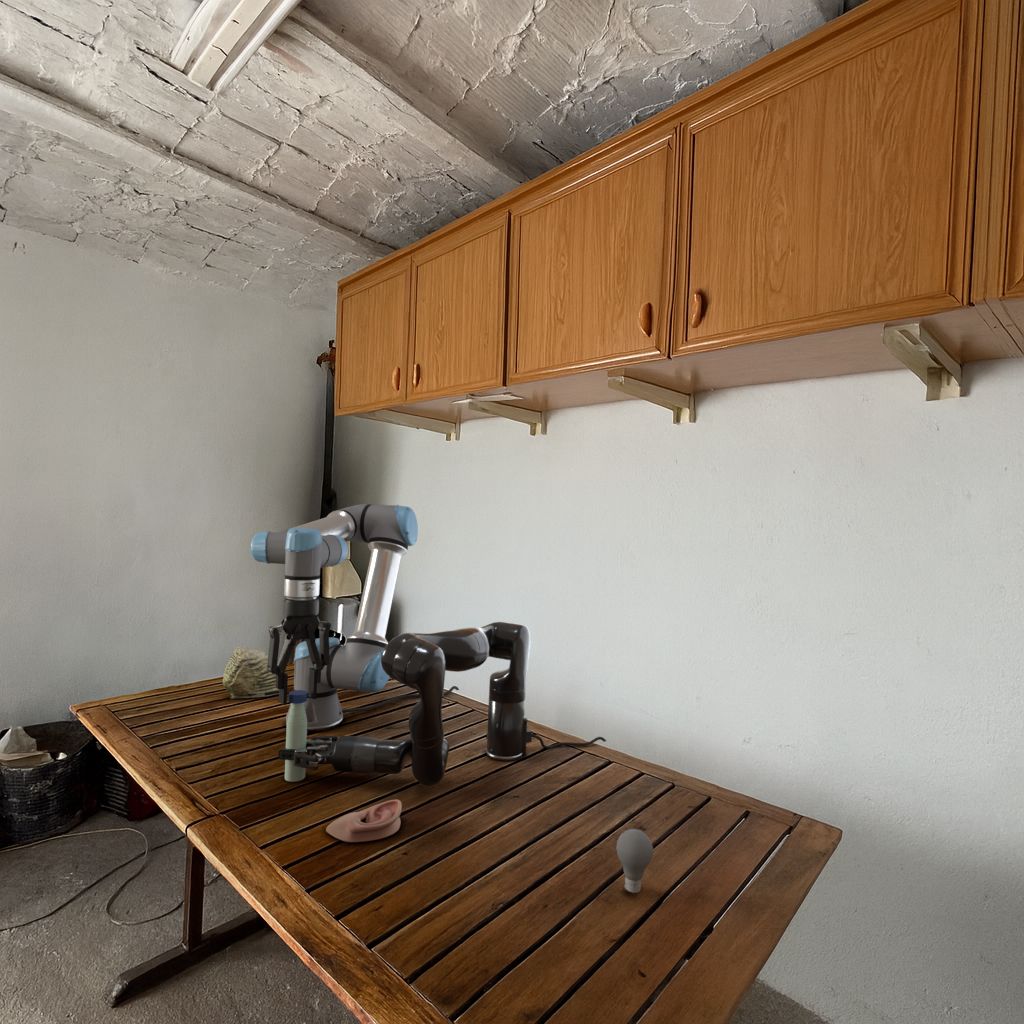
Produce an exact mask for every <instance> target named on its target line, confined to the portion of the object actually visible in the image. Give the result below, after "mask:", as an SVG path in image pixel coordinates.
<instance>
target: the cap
mask: <svg viewBox="0 0 1024 1024" xmlns="http://www.w3.org/2000/svg"><path fill="white" fill-rule="evenodd" d="M306 701H307V691H304V690H295V691H294V690H292V691H289V692H288V699H287V702H288V703H289V704H291V703H294V704H299V703H304V702H306Z"/></svg>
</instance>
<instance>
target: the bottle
mask: <svg viewBox="0 0 1024 1024" xmlns="http://www.w3.org/2000/svg"><path fill="white" fill-rule="evenodd" d="M290 704H291V708H290V712H289V715H288V718H287V726H286V728H285V729H286V732H285V735H286V736H285V749H296V750H297V749H306V740H307V739H308V738H307V736H308V732H307V717H306V713H305V712H306V711H305V707H304V703H299V704H294V703H290ZM302 754H305V753H302ZM305 778H306V768H302V767H297V766H294V760H284V780H285V781H286V782H292V783H293V782H300V781H302V780H304V779H305Z"/></svg>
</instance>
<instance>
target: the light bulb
mask: <svg viewBox="0 0 1024 1024" xmlns="http://www.w3.org/2000/svg"><path fill="white" fill-rule="evenodd" d="M615 849H616V854H617V857H618V859H619V861H620V863H621V865H622V867H623V873H624V874H623V875H624V876H625V878H624V888H625V890H627V891H628V892H630V893H634V894H635V893H639V892H640V891H641V889H642V887H641V886H642V879H643V877H644V875H645V871H646V868H647V867H648V866H649V864H650V863H651V861H652V859H653V855H654V847H653V843H652V841H651V838H649V836H648V835H647V834H646V833H645V832H643V831H642V830H641V829H636V828H629V829H627V830H625V831H623V832H622V833H621V834H620V835H619V837H618V839H617V841H616V847H615Z"/></svg>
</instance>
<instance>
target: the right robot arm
mask: <svg viewBox="0 0 1024 1024" xmlns="http://www.w3.org/2000/svg"><path fill="white" fill-rule="evenodd" d="M530 651H531V632H530V629H529V627H528V626H527V625H525V624H520V623H515V622H507V621H495V622H492V623H488V624H486V625H483V626H480V627H464V628H463V627H462V628H457V629H453V630H446V631H445V630H444V631H437V632H432V633H419V632H403V633H400V634H399V635H397V636H395V637H393V638H392V639H391V640H390V641H388V644H387V645H386V647H385V648H384V650H383V653H382V656H381V664H382V668H383V670H384V671H385V673H386V674H387V675H388V676H390V678H391V679H393V680H395V681H397V682H398V683H400V684H401V685H404V686H406V687H408V688H410V689H412V690H416V691H417V694H419V695H420V697H419V701H417V702H416V703H415V704H414V706H413V707H412V709H411V711H410V713H409V716H408V729H409V734H410V737H409V738H404V739H403V738H402V739H397V740H395V739H384V738H383V739H382V738H375V737H371V736H370V737H369V736H355V735H340V736H338V735H321V736H312V737H310V739H308V738H307V740H306V749H297V750H296V749H286V747H285V748H284V747H283V748H281V747H280V749H278V755H277V758H278V760H283V761H285V760H294V766H297V767H302V768H305V770H306V769H307V770H311V771H318V770H319V766H320V765H330V764H331V765H332V767H333V770H334V771H336V772H340V773H354V774H355V773H356V774H388V775H399V774H401V773H402V772H403V770H404V769H405V766H406V765H407V763H408V762H409V761H410V760H411V770H412V775H413V778H414V779H415V780H416V781H417V782H418V783H419V784H421V785H423V786H425V787H434V786H436V785H438V784H439V783H440V782H442V780H443V779H444V777H445V775H446V769H447V764H448V759H449V753H450V744H449V742H448V741H447V740H446V739H445V730H444V721H443V713H442V712H443V711H442V709H443V699H444V696H443V693H444V692H445V681H446V680H445V679H446V671H447V672H454V673H455V672H456V673H460V672H466V671H467V672H468V671H470V670H473V669H476V668H479V667H481V666H482V665H483V664H484V663H485V662H486V661H487V659H488V658H493V659H499V660H506V661H509V666H508V668H505V669H501V670H496V671H495V672H492V673H491V674H490V675H489V684H488V685H489V686H488V709H487V731H486V733H485V734H486V735H485V738H486V748H485V753H486V756H488V757H489V758H491V759H494V760H497V761H515V760H519V759H521V758H522V757H526V756H527V744H528V743H532V740H533V738H534V739H537V740H538V741H539V742H540V745H541V747H542V748H544V749H546V750H549V749H554V748H557V747H561V746H575V747H576V746H577V747H587V746H590V745H592V744H594V743H595V742H597V741H600V740H601V741H602V742H604V743H605V742H607V740H606V739H605V738H604V737H603V736H596V737H595V738H593V739H592V740H590V741H587V742H572V741H571V742H570V741H562V742H557V743H554V744H552V745H546V744H545V743H544V740H543V739H542V738H541V737H540V736H539V735H537V734H534V733H533V731H532V730H531V729H530V728H529V727H528V717H526V716H525V713H526V711H525V709H526V708H525V707H526V689H527V688H526V687H527V678H528V677H527V676H528V672H529V659H530ZM302 753H305V754H302Z"/></svg>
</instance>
